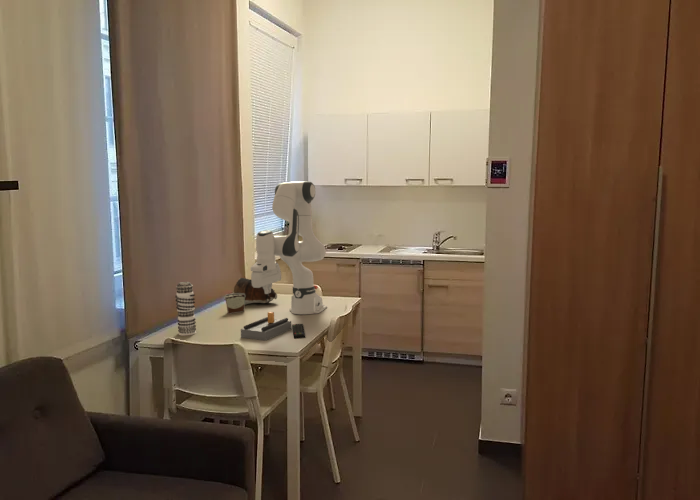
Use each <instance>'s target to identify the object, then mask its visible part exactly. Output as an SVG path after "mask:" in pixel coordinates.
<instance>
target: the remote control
mask: <svg viewBox="0 0 700 500" xmlns="http://www.w3.org/2000/svg"><path fill="white" fill-rule="evenodd" d="M291 328H292V333H293V334H292V335H293V339H306V333H305V328H304V323H294V324H293V323H291Z"/></svg>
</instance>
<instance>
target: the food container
mask: <svg viewBox="0 0 700 500" xmlns="http://www.w3.org/2000/svg"><path fill="white" fill-rule="evenodd" d="M245 297H246V295H245V294H244V293H234V292H231V293H227V294H225V295H224V298H223V299H224V301H225V304H226V310H227V314H228V315H231V314H237V313H242V312H245V306H246V305H245Z"/></svg>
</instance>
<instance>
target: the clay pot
mask: <svg viewBox="0 0 700 500" xmlns="http://www.w3.org/2000/svg"><path fill="white" fill-rule="evenodd" d="M233 293H244V294H245V295H246V297H245V305H244V306H246V305H249V304H269V303H270V302H273V300H277V299H278V294H277V293H276V292H275V290H274V288H271V293H268V294H265V292H264V289H263V287H260V288H254V287H253V286H252V281H251V279H250V278H246V277H239V278H238V279H237V281H236V282H235V284H234V287H233Z"/></svg>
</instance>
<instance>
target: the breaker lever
mask: <svg viewBox="0 0 700 500" xmlns="http://www.w3.org/2000/svg"><path fill="white" fill-rule="evenodd" d="M267 317H268V323H274V319H275V312H273V311H267Z"/></svg>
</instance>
